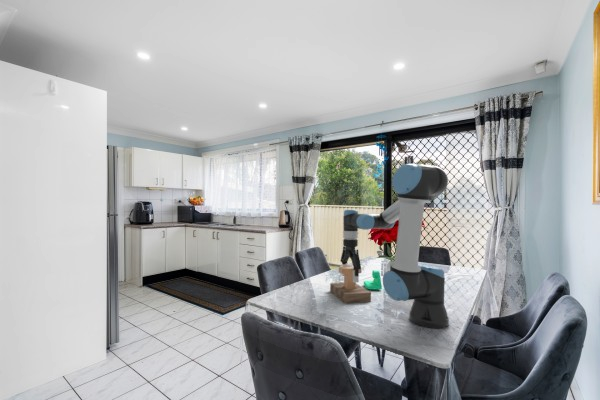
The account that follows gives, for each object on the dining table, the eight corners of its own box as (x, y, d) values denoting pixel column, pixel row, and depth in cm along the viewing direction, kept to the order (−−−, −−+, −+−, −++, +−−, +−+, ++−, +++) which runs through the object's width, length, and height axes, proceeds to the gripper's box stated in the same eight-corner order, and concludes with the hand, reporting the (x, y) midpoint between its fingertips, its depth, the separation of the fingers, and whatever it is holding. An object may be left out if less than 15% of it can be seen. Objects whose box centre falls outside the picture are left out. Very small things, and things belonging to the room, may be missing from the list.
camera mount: (363, 285, 173) (363, 268, 173) (375, 285, 173) (376, 268, 173) (368, 291, 161) (368, 272, 161) (381, 291, 161) (381, 273, 161)
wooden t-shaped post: (360, 296, 150) (361, 268, 150) (341, 298, 147) (342, 269, 147) (357, 294, 154) (357, 266, 155) (338, 295, 151) (338, 267, 152)
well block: (370, 301, 143) (370, 292, 143) (345, 303, 139) (345, 294, 139) (353, 289, 162) (353, 281, 162) (330, 291, 159) (330, 283, 159)
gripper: (368, 241, 140) (367, 284, 140) (347, 236, 164) (346, 273, 164) (354, 241, 138) (353, 285, 138) (334, 236, 162) (334, 273, 162)
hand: (350, 279), depth 151 cm, fingers open, 13 cm apart
